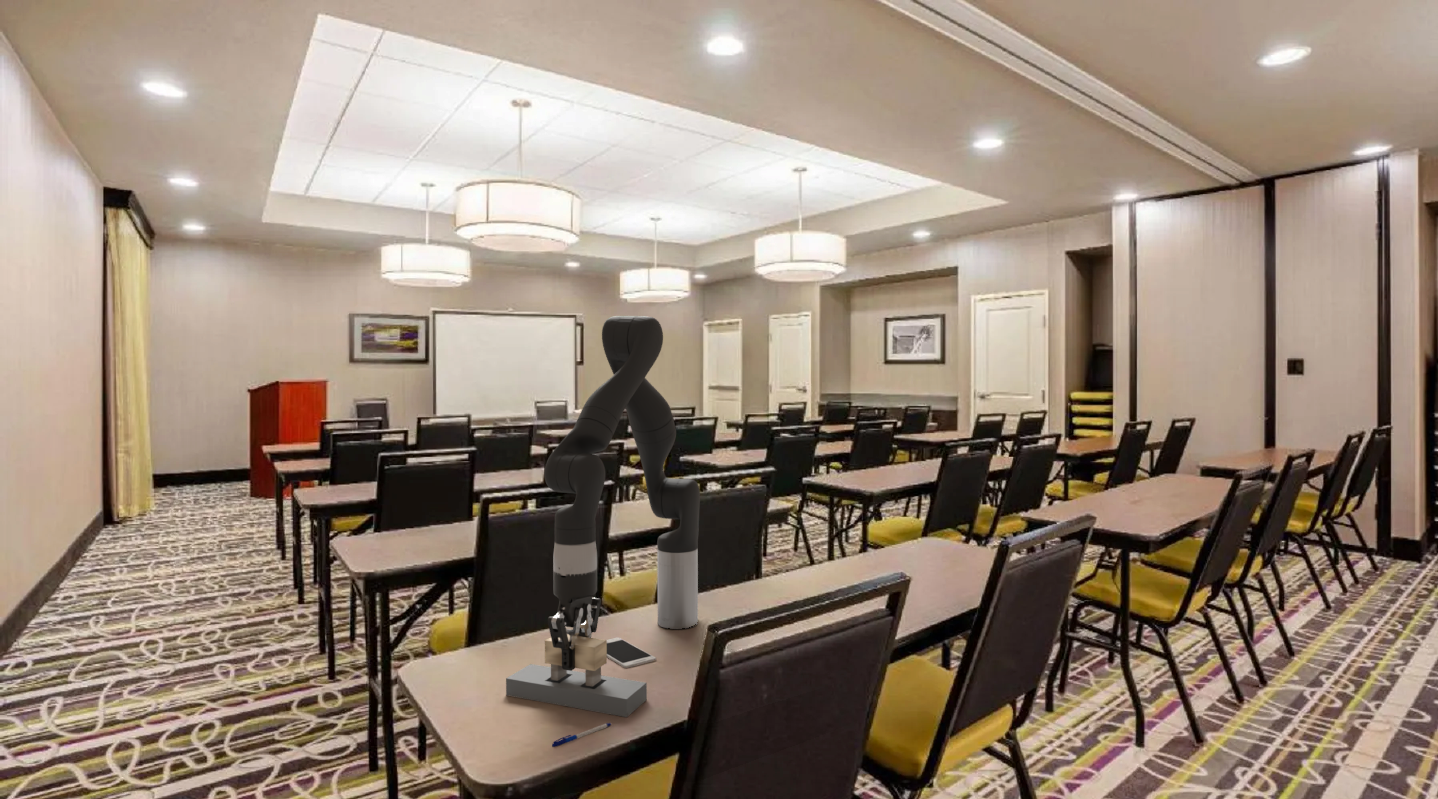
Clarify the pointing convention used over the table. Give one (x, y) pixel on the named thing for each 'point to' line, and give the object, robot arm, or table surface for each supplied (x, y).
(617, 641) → the smartphone
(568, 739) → the ballpoint pen
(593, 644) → the tan rectangular block
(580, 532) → the robot arm
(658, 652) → the table surface
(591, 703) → the slotted rail
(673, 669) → the table surface
